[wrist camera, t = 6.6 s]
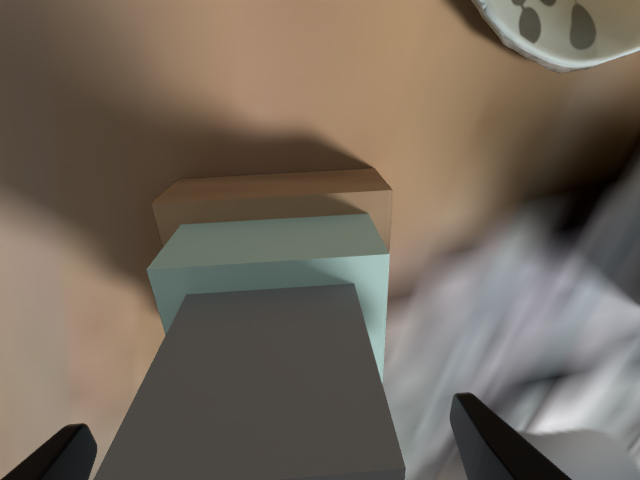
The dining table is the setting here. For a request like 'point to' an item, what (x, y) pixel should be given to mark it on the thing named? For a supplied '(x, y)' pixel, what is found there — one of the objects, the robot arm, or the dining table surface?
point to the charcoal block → (261, 394)
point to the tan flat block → (275, 199)
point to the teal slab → (276, 263)
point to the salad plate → (565, 30)
